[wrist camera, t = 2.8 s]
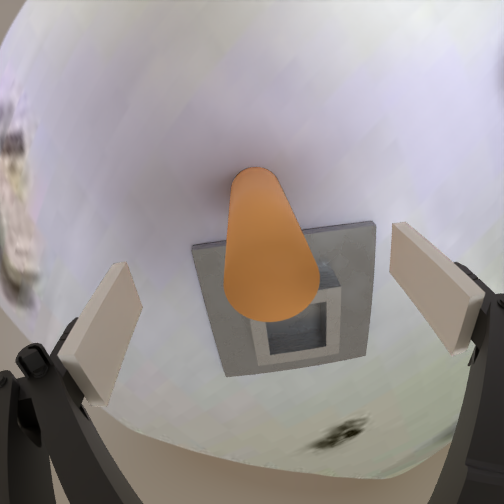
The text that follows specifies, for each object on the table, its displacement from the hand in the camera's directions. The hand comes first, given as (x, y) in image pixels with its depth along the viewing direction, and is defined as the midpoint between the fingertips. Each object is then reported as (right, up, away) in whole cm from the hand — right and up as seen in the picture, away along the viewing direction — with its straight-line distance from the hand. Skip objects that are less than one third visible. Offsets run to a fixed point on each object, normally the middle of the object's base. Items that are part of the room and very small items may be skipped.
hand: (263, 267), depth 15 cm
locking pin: (0, +6, +11) cm, 12 cm away
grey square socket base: (+3, -5, +16) cm, 17 cm away
